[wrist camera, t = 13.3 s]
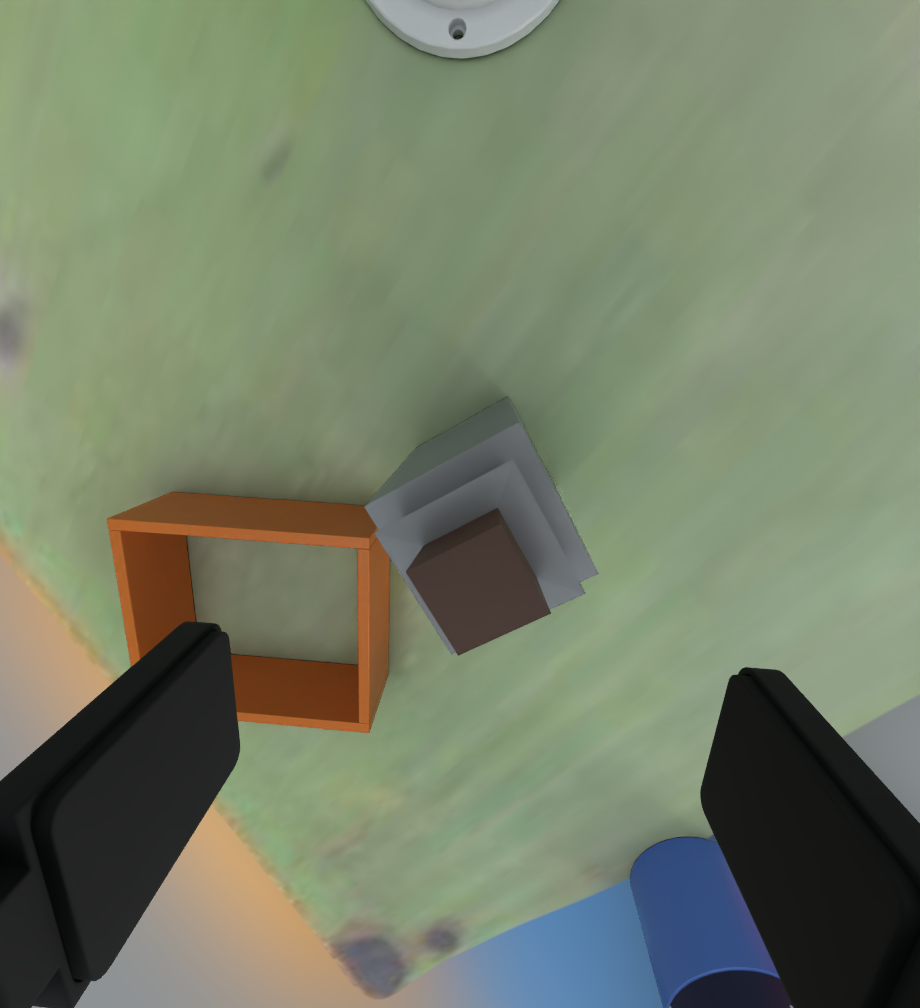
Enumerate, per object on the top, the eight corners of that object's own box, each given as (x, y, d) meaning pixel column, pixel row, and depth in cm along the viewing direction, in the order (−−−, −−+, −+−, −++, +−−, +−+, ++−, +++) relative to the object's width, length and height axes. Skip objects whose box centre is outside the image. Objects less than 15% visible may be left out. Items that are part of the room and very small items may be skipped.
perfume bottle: (466, 533, 33) (437, 717, 16) (416, 447, 32) (326, 549, 15) (556, 487, 32) (629, 635, 15) (507, 396, 31) (527, 441, 13)
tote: (171, 491, 34) (106, 518, 28) (390, 507, 33) (369, 538, 27) (191, 658, 38) (137, 711, 32) (388, 675, 37) (369, 733, 31)
